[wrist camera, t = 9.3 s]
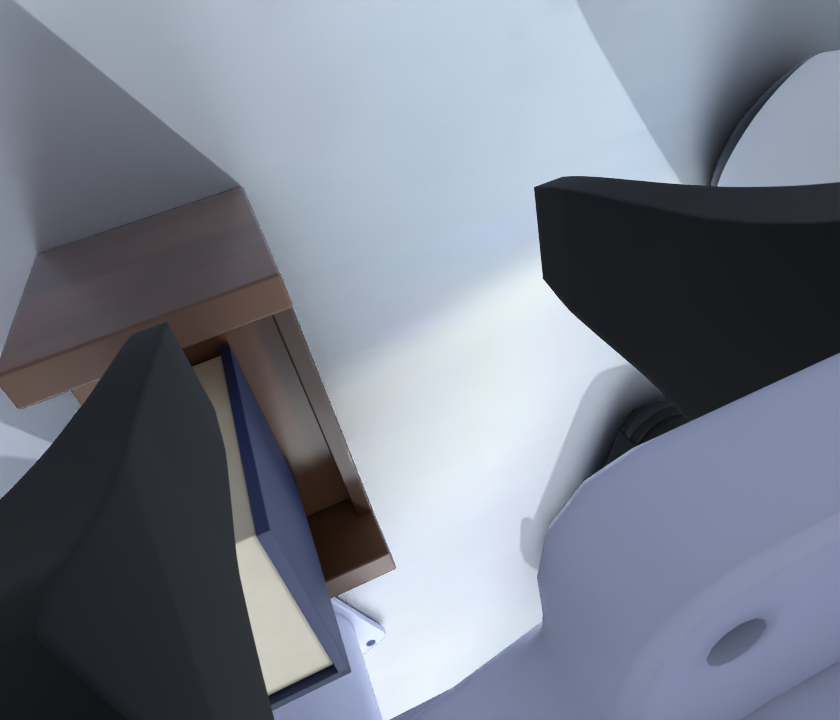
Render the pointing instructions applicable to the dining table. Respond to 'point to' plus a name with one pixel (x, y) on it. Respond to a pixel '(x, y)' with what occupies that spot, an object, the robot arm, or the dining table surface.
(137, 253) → the shelf
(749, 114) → the spread jar
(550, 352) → the dining table surface
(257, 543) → the book
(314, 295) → the dining table surface
